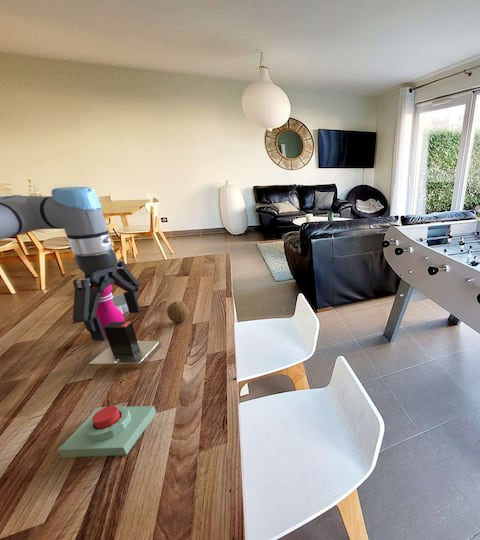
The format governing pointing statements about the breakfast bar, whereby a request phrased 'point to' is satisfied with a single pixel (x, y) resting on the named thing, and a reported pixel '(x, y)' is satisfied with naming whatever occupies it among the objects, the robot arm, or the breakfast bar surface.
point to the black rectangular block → (121, 337)
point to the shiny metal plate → (126, 357)
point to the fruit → (177, 311)
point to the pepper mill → (108, 309)
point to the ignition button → (106, 417)
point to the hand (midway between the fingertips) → (118, 325)
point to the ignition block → (109, 434)
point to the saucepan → (120, 303)
